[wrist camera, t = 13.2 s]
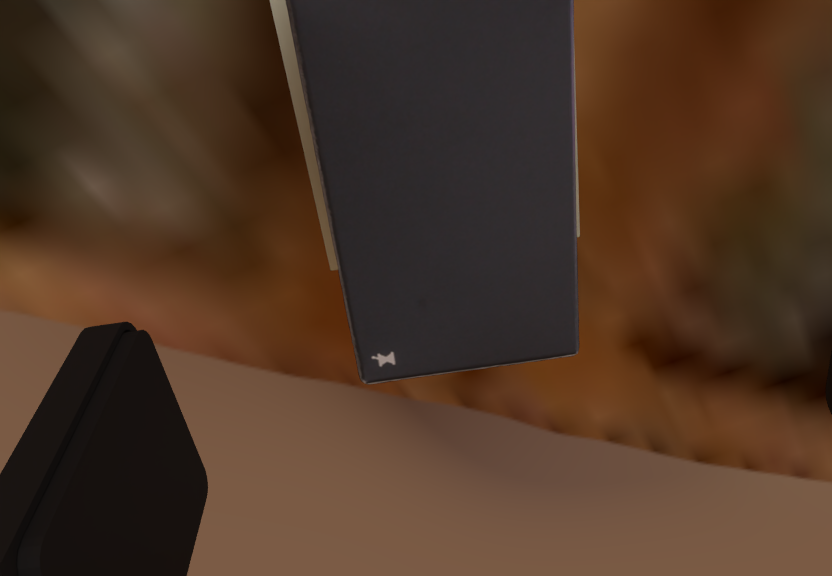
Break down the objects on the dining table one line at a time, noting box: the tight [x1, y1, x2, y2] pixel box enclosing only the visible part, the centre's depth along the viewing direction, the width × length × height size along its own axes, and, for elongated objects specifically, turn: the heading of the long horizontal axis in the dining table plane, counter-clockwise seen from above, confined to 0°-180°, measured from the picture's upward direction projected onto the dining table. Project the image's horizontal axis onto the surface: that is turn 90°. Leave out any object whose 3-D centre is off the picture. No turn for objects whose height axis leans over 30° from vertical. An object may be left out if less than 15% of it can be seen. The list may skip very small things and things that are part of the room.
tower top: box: [270, 0, 580, 271], centre depth 30 cm, size 10×14×5 cm
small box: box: [285, 0, 579, 384], centre depth 23 cm, size 11×6×10 cm, turn 7°
